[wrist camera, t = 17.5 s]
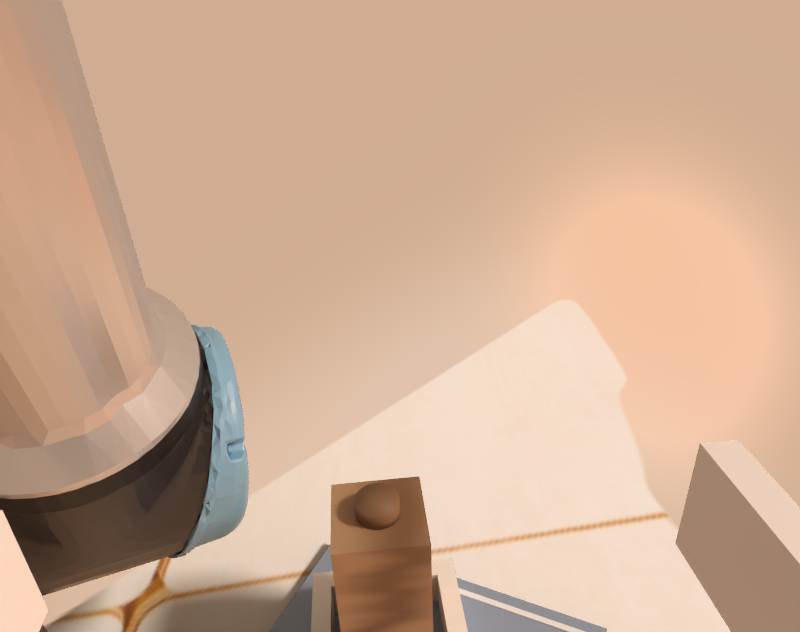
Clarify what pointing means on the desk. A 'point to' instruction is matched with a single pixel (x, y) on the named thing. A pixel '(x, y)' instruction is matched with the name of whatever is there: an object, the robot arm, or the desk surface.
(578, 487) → the desk surface
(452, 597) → the socket collar
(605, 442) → the desk surface
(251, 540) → the desk surface
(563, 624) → the board
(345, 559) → the pillar
